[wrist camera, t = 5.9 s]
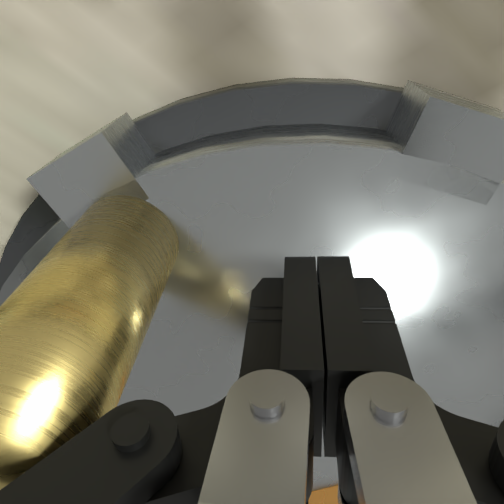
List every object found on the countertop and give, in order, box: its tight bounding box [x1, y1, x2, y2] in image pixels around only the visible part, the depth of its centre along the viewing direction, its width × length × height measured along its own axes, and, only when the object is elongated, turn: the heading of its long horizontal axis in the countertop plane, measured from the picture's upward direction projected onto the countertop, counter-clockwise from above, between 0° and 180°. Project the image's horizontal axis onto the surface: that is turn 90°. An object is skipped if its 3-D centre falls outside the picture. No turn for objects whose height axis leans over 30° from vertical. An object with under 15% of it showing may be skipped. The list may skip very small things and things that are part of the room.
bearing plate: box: [0, 78, 404, 291], centre depth 19 cm, size 26×26×1 cm
